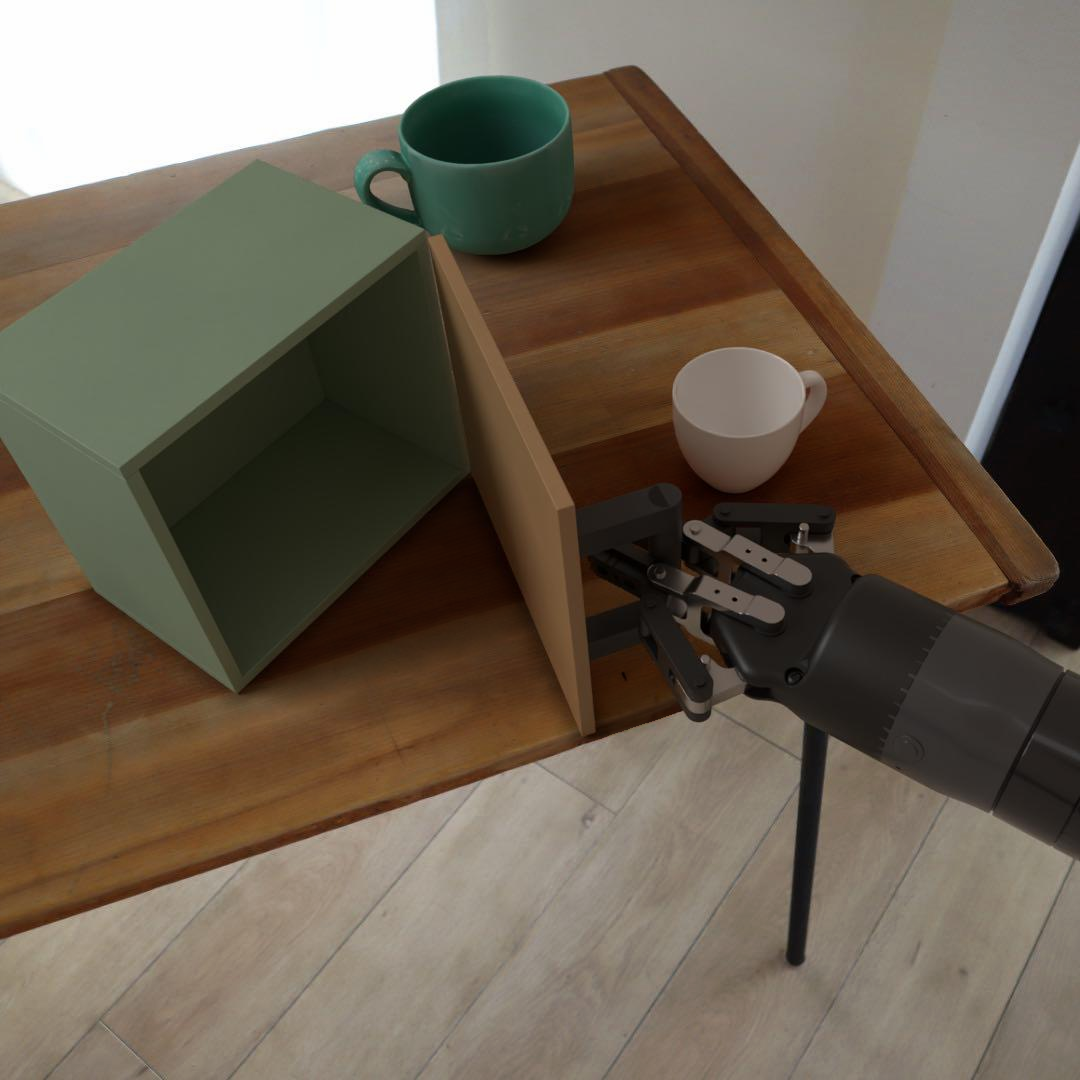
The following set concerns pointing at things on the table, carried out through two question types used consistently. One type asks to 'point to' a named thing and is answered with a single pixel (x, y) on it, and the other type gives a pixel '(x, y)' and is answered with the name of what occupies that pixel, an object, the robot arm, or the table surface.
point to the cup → (742, 414)
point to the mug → (481, 163)
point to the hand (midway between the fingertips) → (604, 529)
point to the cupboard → (238, 413)
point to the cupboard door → (545, 502)
